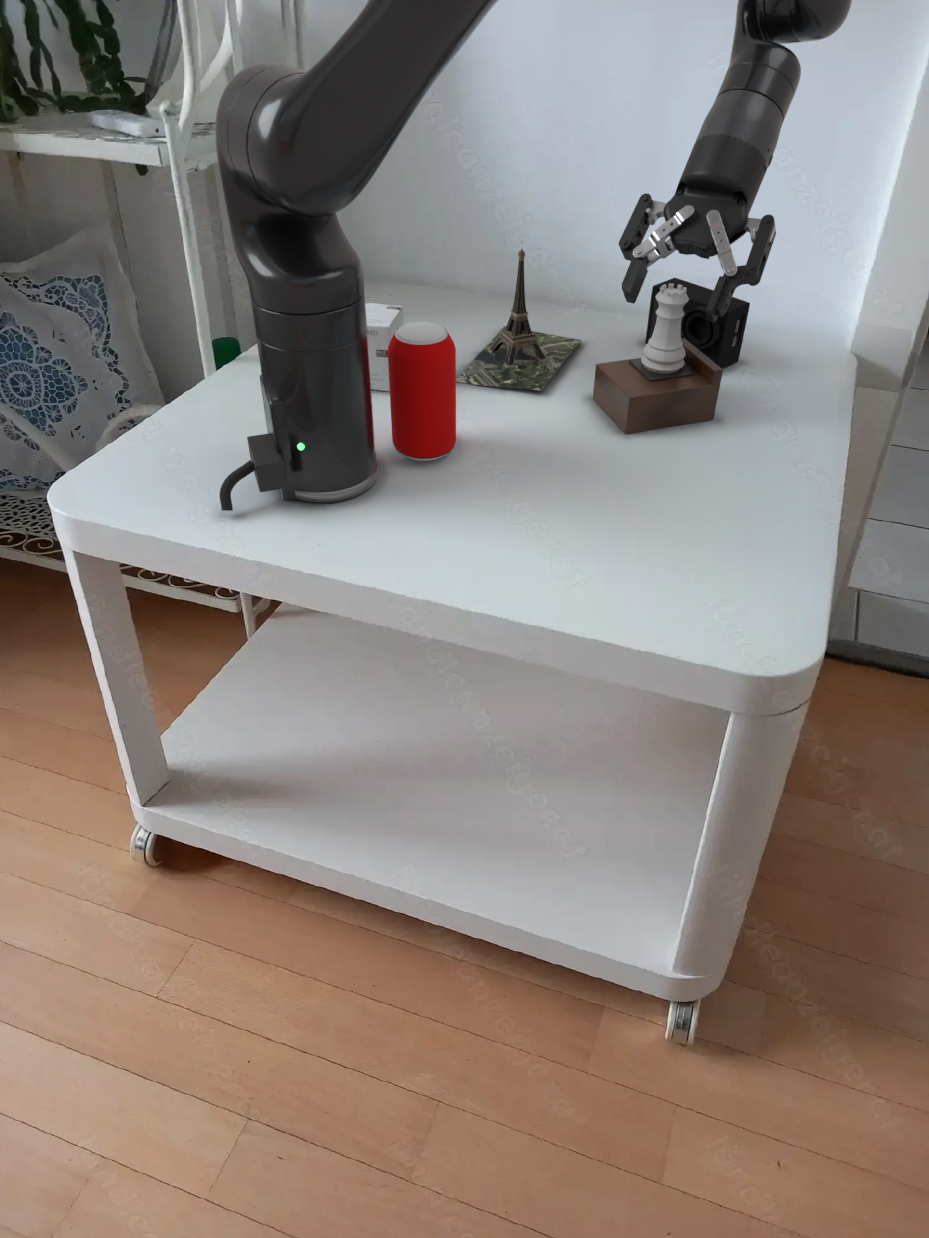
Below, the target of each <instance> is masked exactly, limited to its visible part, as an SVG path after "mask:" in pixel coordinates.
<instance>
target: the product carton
mask: <svg viewBox="0 0 929 1238" xmlns="http://www.w3.org/2000/svg"><path fill="white" fill-rule="evenodd" d="M365 308H366V323H367V338H368V353H369V367H370V382H371V391H372V390H373V391H381V392H382V391H383V392H390V387H389V368H388V345H389V342H390V340H391V338H392V337H393V335H394V333H395V331H396V330H397V329H398V328H400V327H401V326H403V325H404V306H402V305H392V304H391V305H390V304H383V303H376V302H369V303H367V302H365Z"/></svg>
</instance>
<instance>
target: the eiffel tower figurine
mask: <svg viewBox="0 0 929 1238" xmlns="http://www.w3.org/2000/svg"><path fill="white" fill-rule="evenodd" d="M521 243H523V239H521ZM517 256H518V265H517V277H516V284H515V292H514V298H513V304H512V309H511V310H509V312H510V316H509V318H508V320H507V323H506V325H503V327H502V328H501V329H500V330H499V332H498V333H497V334H496V335H494V337H493V338H492V340H491V341H490V342H489V343H488V344H486V346H485V347H484V348H482V350H481V351H480V352H479V353H478V354H477V355H476V356H475V357H474V359H472V361H471V362H470V363H469V364H468V365H467V367H465V369H464V370H463V371H462V373H461V374H460V375H459V376H458V377H456V383H462V384H470V385H476V386H477V385H478V386H486V387H492V388H493V387H494V388H511V389H512V388H514V389H515V388H516V389H525V390H532V391H543V390H544V389H545V387H546V386H547V385H548V383H549V382H550V381H551V380H552V379H553V377H555V375H556V373H557V372H558V370H560V368H561V366H562V365H563V364H564V362H566V361H567V359H568V358H569V356H570V355H571V354H572V353H573V351H575V349H576V348H577V347H578V346H579V345H580V344H581V343H582V341H583V339H578V338H573V337H566V336H560V335H555V334H549V333H544V332H539V331H534V330H532V329H531V325H530V322H529V317H528V314H529V312H528V311H527V307H526V305H527V304H526V292H525V291H526V290H525V289H526V288H525V258H526V252H525V251H524V249H523V248H521V249H520V250H519V251H518V254H517Z"/></svg>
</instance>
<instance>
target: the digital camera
mask: <svg viewBox="0 0 929 1238" xmlns="http://www.w3.org/2000/svg"><path fill="white" fill-rule="evenodd" d="M664 284H665V285H667V287H666V288H668V287H669V284H674V288H676V289H677V287H678V285H679V284H680V285H683V287H686V289H687V291H686V294H687V296H688V298H689V301H688V302H687V303H686V304H685V305H684V306H683V312H684V316H683V317H682V320H681V339H682V338H685V339H686V340H687V341H689V342H690V343H691V344H692V345H693V346H695V347H696V348H697V349H698V350H700V351H701V352H702V353H703V354H705V355H706V356H707V357H708V358H709V359H711V360H712V361H713V362H714V363H716V364H717V365H718V366H719V367H720V368H722V369H723V370H724V369H725V368H727V367H730V366H731V365H734V364H736V363H738V362H739V361H740V355H741V351H742V347H743V346H742V345H743V341H744V335H745V331H746V326H747V321H748V316H749V310H750V307H751V306H750V305H751V302H749V301H745V300H743V299H740V298H737V297H734V296H732V298H731V301H730V303H729V306H728V308H727V311H726V313H725V314H724V315H723V316H722V317H717V320H716V321H715V322H713V321H708V320H707V317H706V309H707V306H708V303H709V301H710V299H711V296H712V294H713V291H714V289H710V288H709V287H708V288H707V287H705V286H701V285H699V284H697V283H694V282H689V281H687V280H685V279H684V280H683V279H682V278H681V279H680V278H677V277H673V278H670V279H667V280H664V281H662V282H660V283H659V282H658V283H656V284H654V285H652V289H651V295H650V301H649V311H648V318H647V324H646V325H647V327H646V332H645V333H646V334H645V342H644V344H645V345H646V344H647V343H649V342H648V341H649V339H650V338H651V337H652V335H653V332H654V328H655V325H656V320H657V314H656V310H657V309H658V308H659V303H658V302H657V300H656V297H655V296H656V295H657V294H658V293H659V292H660V287H662V285H664Z"/></svg>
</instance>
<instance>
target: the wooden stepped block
mask: <svg viewBox="0 0 929 1238" xmlns="http://www.w3.org/2000/svg"><path fill="white" fill-rule="evenodd" d="M681 341H682V343H683V345H682V346H683V347H684V349H685V354H686V355H685V357H684V358H683V359H684V362H685V364H684V366H683V367H682V368H681V369H680V370H679V371H677V372H675V373H669V374H661V373H655V372H652V371H650V370H648V369H646V368H645V367H644V365H643V364H642V361H641V358H642V357H636V358H629V359H623V360H615V361H607V362H601V363H596V364H595V369H594V370H595V372H594V382H593V392H592V400H593V401H594V402H595V404H597V406H598V407H599V408H600V409H601V410H602V411H603V412H604V413H605V414H606V415H607V417H609V418H610V419H611V421H612V422H613V423H614V424H615V425H616V426H617V427H618V428H619V429H620V430H621V431H622V433H624V434H625V435H627V434H633V433H639V432H646V431H653V430H658V429H664V428H670V427H677V426H681V425H682V426H683V425H689V424H695V423H702V422H707V421H712V420H714V418H715V414H716V409H717V404H718V398H719V392H720V388H721V387H720V386H721V383H722V376H723V373H724V368H723V369H722V368H720V367H719V366H718V365H717V364H716V363H714V362H713V361H712V360H711V359H709V358H708V357H707V356H706V355H705V354H703V353H702V352H701V351H700V350H698V349H697V348H696V347H695V346H693V345H692V344H691V343H690V342H689V341H687V340H686V339H685V338H682V339H681Z"/></svg>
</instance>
